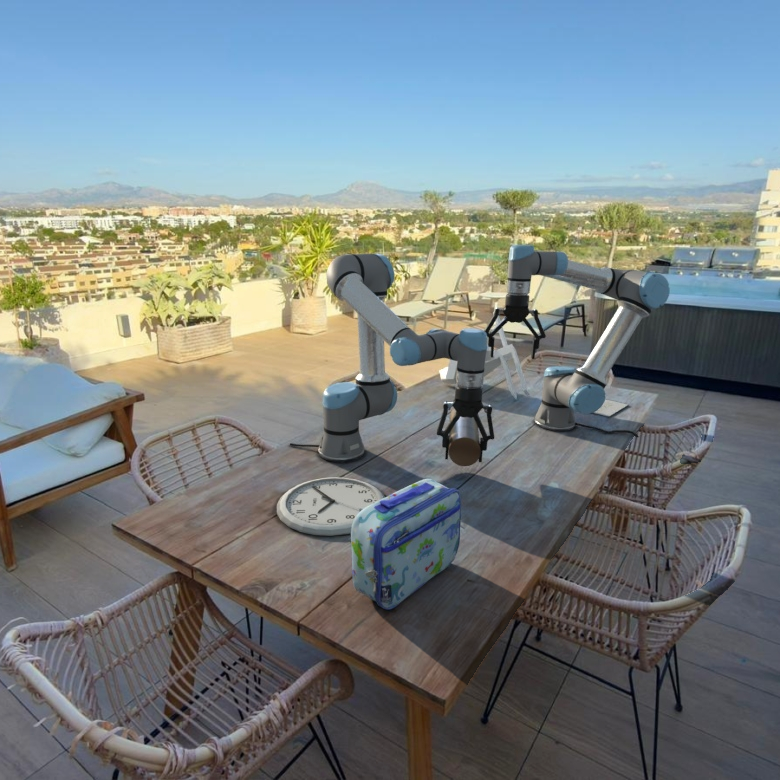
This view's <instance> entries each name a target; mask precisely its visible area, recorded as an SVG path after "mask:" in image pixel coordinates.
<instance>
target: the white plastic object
mask: <svg viewBox="0 0 780 780" xmlns="http://www.w3.org/2000/svg"><path fill="white" fill-rule="evenodd" d="M494 312H495V310H494V311H492V316H493V315H494ZM501 321H502V320H501V318H500V315H498V317H497V319H496V321H495V324H496V325H495V326H497V325H498V324H499V323H500V322H501ZM503 327H504V326H503ZM503 327H502V328H501V329H500V330H499V331H498V335H499V338H500V342H501V345H502V347H500V348H498V349H496V350H495V349H494V352H493V357H491V356H490V354H491V347H488V342H487V350H486V358H485V366H484V368H485V369H484V378H485V377H486V376H487V375H489V374H490V373H492V372H494V371H495V370H496V369H497V368H499V367H500V366H502V370H503V373H504V376H505V380H506V383H507V386H508V390H509V393H510V394H511V395H512V397H513V398H514V399H515V400H517V392H516V391H517V390H516V388H515V385H514V381H513V378H512V375H511V371H510V369H509V365H508V361H510V360H513V363H514V366H515V369H516V372H517V376H518V380H519V382H520V385H521V389H522V391H523V393H524V395H525V396H526V397H528V396H531V395H530V390H529V388H528V387H529V386H528V384H527V381H526V378H525V375H524V371H523V369H522V368H523V367H522V366H521V362H520V359H519V355H518V352H517V349H516V347H515V346H514V345H513V343H511V344H508V341H507V337H506V334H505V331H504V328H503ZM438 372H439V376H440V381H442V383H443V384H444V385H445V386H449V385H457V383H456V375H457V361H454V360H451V359H449V362H448V366H446V367H444V368H442V369H440V370H439V371H438Z"/></svg>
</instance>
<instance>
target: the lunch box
mask: <svg viewBox="0 0 780 780" xmlns="http://www.w3.org/2000/svg"><path fill="white" fill-rule="evenodd" d="M461 499H462V498H461V493H460V491H459V490H458V489H457V488H454V487H451V488H449V487H447V486H446V485H444V484H441V483H440V482H437V481H436V480H434V479H431V478H424V479H421V480H418V481H416V482H414V483H412V484H410V485H408V486H405V487H404V488H401V489H399V490H397V491H395V492H393V493H392V494H389V495H387V496H385V498H383V499H381V500H379V501H377V502H375V503H374V504H371V505H369V506H367V507H366V508H364V509H362V510H361V511H360V512H359V513H358V514H357V516H356V517H355V519H354V521H353V524H352V529H351V533H350V547H351V548H350V552H351V576H352V584H353V588H354V590H356V591H357V592H359V593H360V594H363V595H365V596H367V597H368V598H369V599H371V600H372V601H374V602H376V604H377V606H378V607H379V608H382V609H384V610H386V611H387V610H388V611H390V610H393V609H394V608H396V607H397V606H398V605H400V604H401V603H402V602H403V601H405V600H406V599H407V598H408V597H409V596H411V595H412V594H413V593H415V592H417V590H419V589H420V588H422V587H423V586H424V585H425V584H426V583H428V581H430V580H431V579H432V578H434V577H435V576H438V574H440V573H441V572H443V571H445V570H446V569H447V568H448V567H449V566H451V564H452V563H453V562H454V560H455V558H456V556H457V554H458V551H459V548H460V541H461V522H462V521H461V519H462V515H461V513H462V512H461V510H462V509H461V508H462V506H461V505H462V504H461V503H462V502H461Z"/></svg>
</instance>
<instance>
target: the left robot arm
mask: <svg viewBox="0 0 780 780" xmlns="http://www.w3.org/2000/svg"><path fill="white" fill-rule="evenodd" d="M326 281H327V282H326V283H327V286H328V288H329V289H330V291H331V293H332V294H333V295H334V296H335V297H336V299H338V300H339V301H341V302H345V303H347V305H348V306H349V307H350V308H351V309H352V310H353V311H354V312H355V313H356V314H357V339H358V359H359V360H358V361H359V373H358V374H357V375H356V376H355V382H352V381H344V382H341V381H340V382H336V383H333V384H331V385H329V386H328V387H326V388H325V389H324V391H323V394H322V411H323V412H322V414H323V415H322V416H323V417H322V418H323V434H322V435H321V439H320V443H319V444H300V443H299V444H298V443H291V442H290V443H289V446H292V447H301V448H303V447H304V448H305V447H307V448H318V456H319V457H320V458H321V459H323V460H325V461H328V462H333V463H348V462H353V461H356V460H359V459H360V458H362V457H363V456H364V455H365V445H364V442H363V439H362V436H361V434H360V421H362V420H366V419H369V418H372V417H377V416H382V415H384V414H387V413H389V412H390V411H392V410H393V409H394V408H395V406H396V404H397V401H398V390H397V387H396V386H395V383H394V381H393V380H391V376H390V375H389V374H388V373H387V372H386V357H385V355H386V354H385V343H386V344H387V345H388V346H389V355H390V357H391V359H392V361H393V362H394V364H395V365H396V366H400V367H407V366H414V365H417V364H421V363H426V362H432V361H436V360H441V359H448V360H450V359H451V360H454V361H457V375H456V383H457V384H455V389H454V399H453V401H447V400H444V401H443V404H442V408H443V410H442V413H441V416H440V419H439V423H438V425H437V428H436V436H440V437H441V438H442V443H441V447H442V448H443V449H444V448H445V456H444V460H449V433H450V431H451V430H452V428H453V427H454V425H455V424H456V422H457V421H458V420H459V418H460V417H469V418H472V417H474V420H475V421H476V424H477V426H478V431H479V434H480V435H481V437H479V441H480V450H481V454H480V457H479V459H478V462H479V463H482V461H483V452H486V451H487V450H488V441H490V440H494V439H495V431H494V425H493V418H492V413H493V405H492V404H491V403H489V404H485V403H483V390H484V387H483V386H484V382H485V381H484V378H485V377H484V369H485V368H484V366H485V358H486V350H487V343H488V337H487V334H486V332H485V331H484V330H483V329H479V328H462V329H461V330H460V331H459V333H457V332H453V331H449V330H445V329H443V328H440V329H439V328H431V329H429V330H428V331H427V332H426V333H423V334H418V333H416V332H415V331H414V330H412V328H411V327H410V326H409V325H407V324H406V323H405V322H404V321H403V320H402V319H401V318H400V317H399V316H398V315H397V314H396V313H395V312H394V311H393V310H392V309H391V308H390V307H389V306H388V305H387V304H386V303H384V301H385V299H386V298H387V297H388V289H390V288H391V287H392V286H393V284H394V281H395V270H394V266H393V263H392V262H391V261H390V260H389V258H388V257H387V256H385V255H384V254H380V253H372V252H369V253H344V254H341V255H338V256H336V257H335V258H334V259H333V260H332V261H331V262H330V263H329V264H328V267H327V271H326ZM452 407H453V409H455V410H456V412H455V414H454V416H453V418H452V419H451V421H450V420H449V422H448V424H447V425H446V426H445V423H446V419H447V417H448V414H449V411H450V410H451V409H452ZM482 410H484V411H483V412H484V414H486V420H487V426H488V433H487V431H486V429H485V427H484V425H483V422H482V420H481V418H480V415H479V413H480V412H481V411H482ZM444 426H445V428H444Z"/></svg>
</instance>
